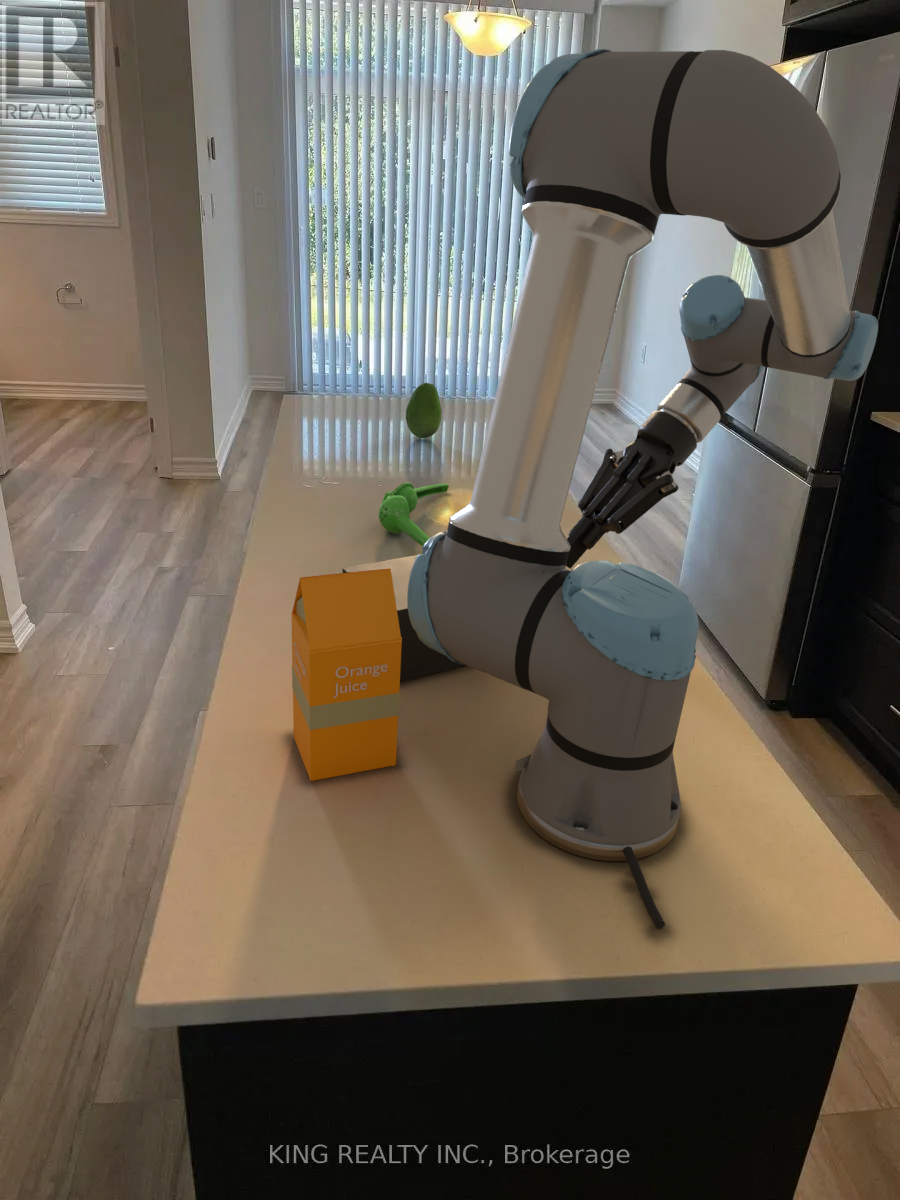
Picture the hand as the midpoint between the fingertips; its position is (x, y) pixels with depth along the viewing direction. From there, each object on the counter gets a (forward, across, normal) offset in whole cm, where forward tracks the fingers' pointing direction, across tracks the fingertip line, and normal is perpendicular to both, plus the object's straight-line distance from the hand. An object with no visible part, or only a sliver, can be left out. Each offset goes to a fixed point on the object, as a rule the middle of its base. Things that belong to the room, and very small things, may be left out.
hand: (562, 561), depth 114 cm
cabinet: (+21, 0, +10) cm, 23 cm away
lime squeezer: (+7, +36, -4) cm, 37 cm away
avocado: (-16, +81, -19) cm, 85 cm away
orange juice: (+33, -15, +22) cm, 42 cm away
